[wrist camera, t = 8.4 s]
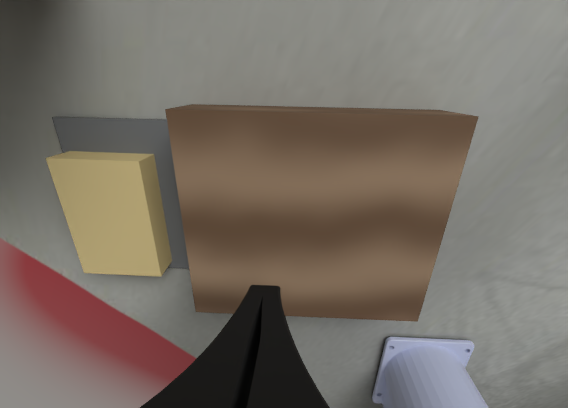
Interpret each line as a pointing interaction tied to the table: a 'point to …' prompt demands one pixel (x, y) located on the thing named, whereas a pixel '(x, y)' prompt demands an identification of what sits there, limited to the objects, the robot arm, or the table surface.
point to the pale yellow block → (113, 211)
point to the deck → (316, 204)
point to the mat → (139, 140)
